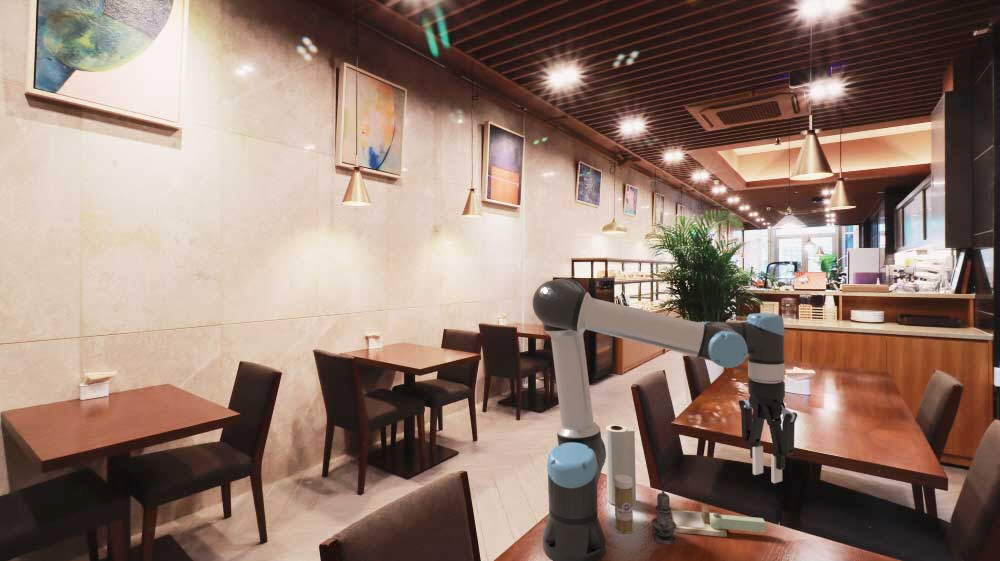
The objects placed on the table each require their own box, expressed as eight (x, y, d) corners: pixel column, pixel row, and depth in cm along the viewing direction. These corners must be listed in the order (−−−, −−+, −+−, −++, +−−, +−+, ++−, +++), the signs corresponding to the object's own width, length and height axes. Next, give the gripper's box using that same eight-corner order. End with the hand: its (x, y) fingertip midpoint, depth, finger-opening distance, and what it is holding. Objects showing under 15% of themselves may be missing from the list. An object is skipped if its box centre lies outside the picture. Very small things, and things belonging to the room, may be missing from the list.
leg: (711, 528, 117) (711, 516, 117) (709, 522, 120) (708, 510, 120) (766, 533, 114) (766, 521, 114) (762, 527, 117) (762, 515, 117)
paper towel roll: (603, 498, 137) (601, 425, 136) (620, 494, 139) (618, 422, 138) (618, 510, 130) (616, 433, 129) (636, 505, 132) (634, 430, 132)
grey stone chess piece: (678, 545, 113) (677, 496, 113) (653, 543, 114) (652, 495, 114) (674, 532, 119) (673, 485, 118) (650, 530, 120) (649, 483, 120)
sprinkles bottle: (621, 536, 118) (620, 483, 117) (611, 526, 122) (610, 475, 122) (637, 532, 119) (636, 479, 119) (626, 522, 124) (625, 472, 123)
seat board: (675, 532, 119) (674, 515, 118) (670, 513, 127) (670, 498, 127) (726, 537, 116) (726, 520, 116) (718, 517, 125) (718, 502, 124)
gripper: (813, 385, 104) (814, 489, 105) (745, 370, 120) (746, 460, 121) (790, 389, 101) (791, 496, 102) (724, 374, 117) (725, 466, 118)
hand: (767, 477), depth 111 cm, fingers open, 4 cm apart
